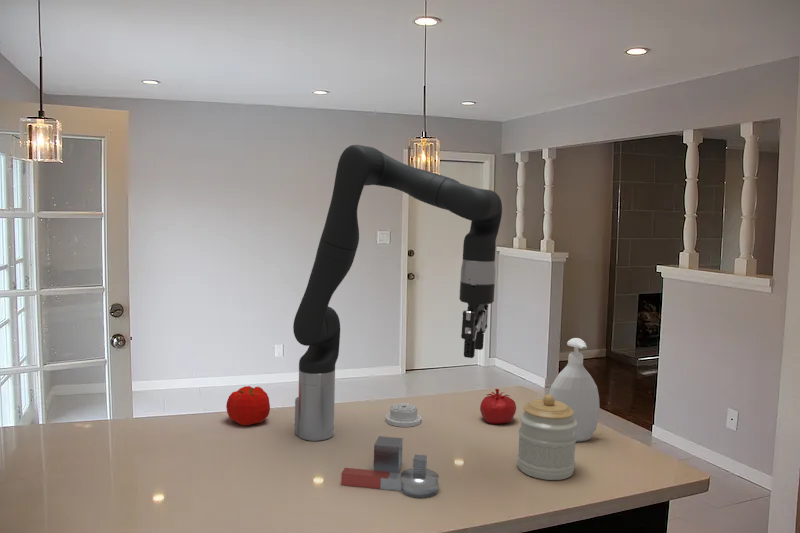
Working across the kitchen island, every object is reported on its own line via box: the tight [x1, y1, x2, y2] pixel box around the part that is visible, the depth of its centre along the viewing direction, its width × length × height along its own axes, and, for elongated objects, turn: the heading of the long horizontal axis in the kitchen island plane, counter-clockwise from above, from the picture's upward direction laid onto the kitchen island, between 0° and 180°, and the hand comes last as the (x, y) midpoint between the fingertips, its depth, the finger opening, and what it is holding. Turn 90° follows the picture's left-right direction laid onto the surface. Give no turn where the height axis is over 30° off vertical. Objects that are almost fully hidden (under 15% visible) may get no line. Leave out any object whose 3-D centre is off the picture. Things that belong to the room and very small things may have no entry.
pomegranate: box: [479, 388, 517, 425], centre depth 177 cm, size 10×10×9 cm
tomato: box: [225, 385, 271, 426], centre depth 170 cm, size 11×12×9 cm
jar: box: [516, 393, 577, 481], centre depth 144 cm, size 13×13×18 cm
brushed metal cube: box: [373, 435, 404, 473], centre depth 143 cm, size 6×6×6 cm
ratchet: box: [340, 453, 440, 499], centre depth 133 cm, size 20×8×7 cm, turn 81°
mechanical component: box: [385, 402, 422, 428], centre depth 175 cm, size 10×4×10 cm
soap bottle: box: [548, 337, 601, 443], centre depth 163 cm, size 14×8×27 cm, turn 99°
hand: (473, 353), depth 139 cm, fingers open, 8 cm apart
